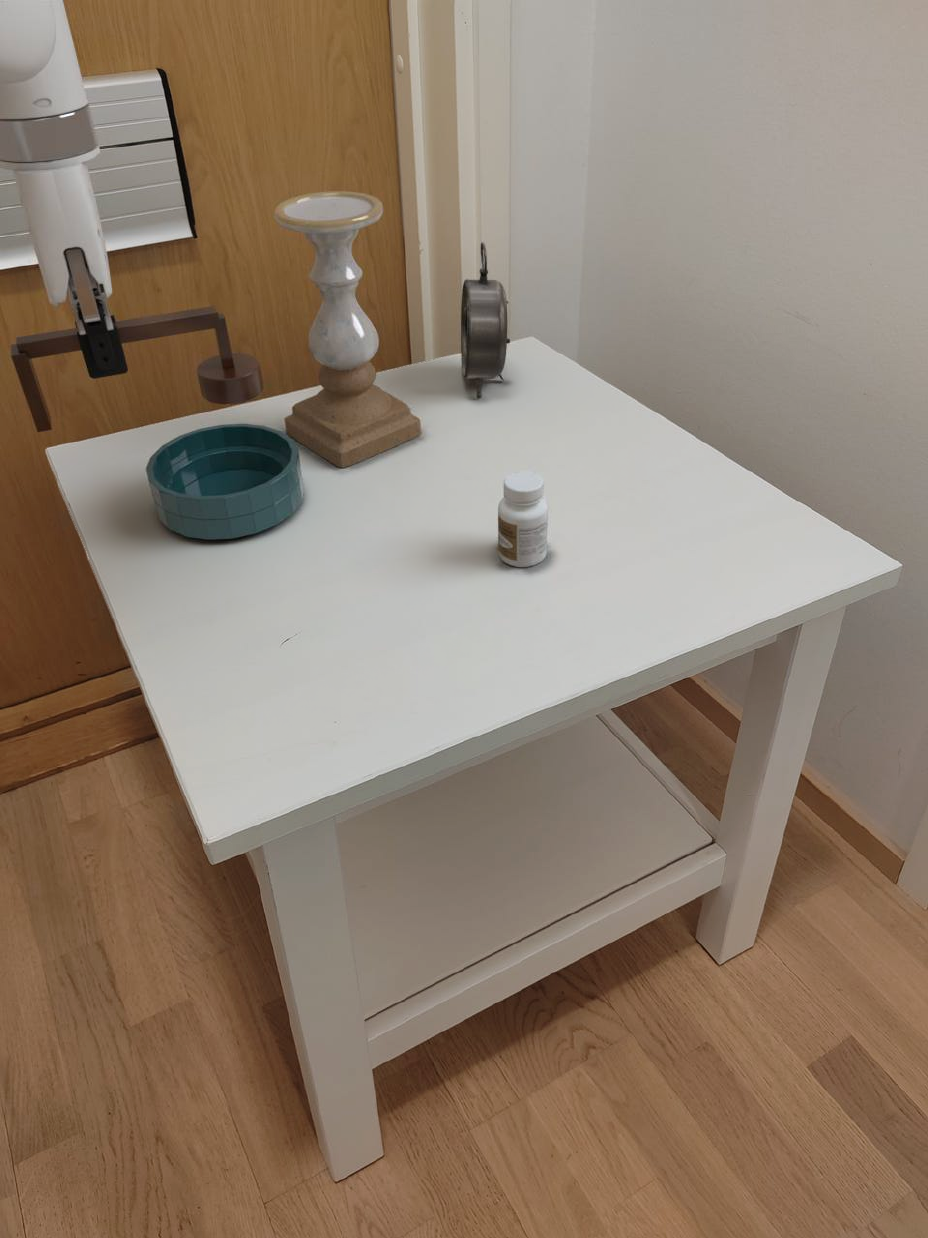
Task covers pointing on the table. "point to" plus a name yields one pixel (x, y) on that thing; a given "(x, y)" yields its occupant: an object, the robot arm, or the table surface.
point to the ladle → (218, 375)
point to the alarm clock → (483, 327)
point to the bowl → (225, 481)
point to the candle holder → (342, 338)
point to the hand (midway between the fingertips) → (107, 367)
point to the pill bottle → (522, 520)
